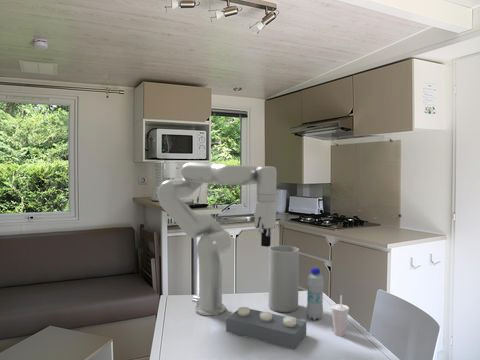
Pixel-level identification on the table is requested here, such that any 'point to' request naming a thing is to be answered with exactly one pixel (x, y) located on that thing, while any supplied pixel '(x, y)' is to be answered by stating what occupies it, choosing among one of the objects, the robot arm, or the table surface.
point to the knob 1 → (243, 311)
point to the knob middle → (266, 316)
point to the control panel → (266, 329)
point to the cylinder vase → (283, 278)
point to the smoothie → (339, 317)
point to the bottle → (315, 294)
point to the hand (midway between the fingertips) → (265, 245)
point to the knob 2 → (289, 322)
